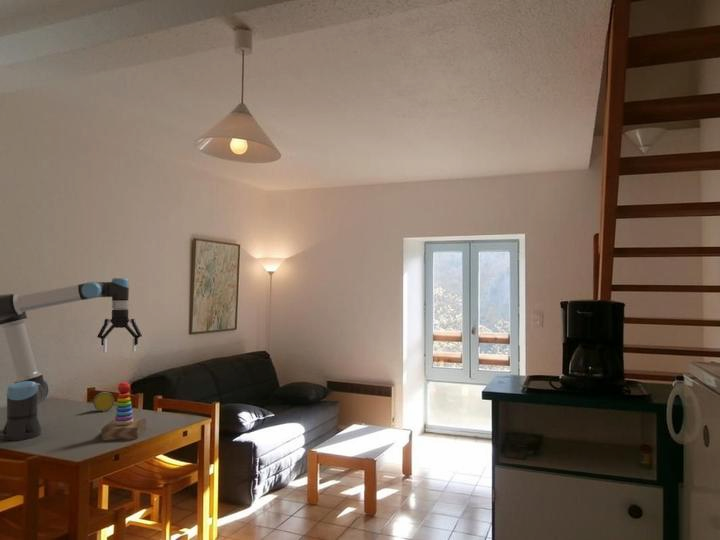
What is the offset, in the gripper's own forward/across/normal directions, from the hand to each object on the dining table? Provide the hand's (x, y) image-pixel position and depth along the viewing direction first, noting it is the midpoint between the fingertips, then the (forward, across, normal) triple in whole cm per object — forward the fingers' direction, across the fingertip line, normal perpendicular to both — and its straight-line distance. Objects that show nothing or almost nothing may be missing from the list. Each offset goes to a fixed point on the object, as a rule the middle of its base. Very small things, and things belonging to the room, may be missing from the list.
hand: (119, 351), depth 259 cm
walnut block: (+35, -9, +23) cm, 43 cm away
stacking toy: (+30, -9, +23) cm, 39 cm away
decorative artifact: (+35, +15, -26) cm, 46 cm away
